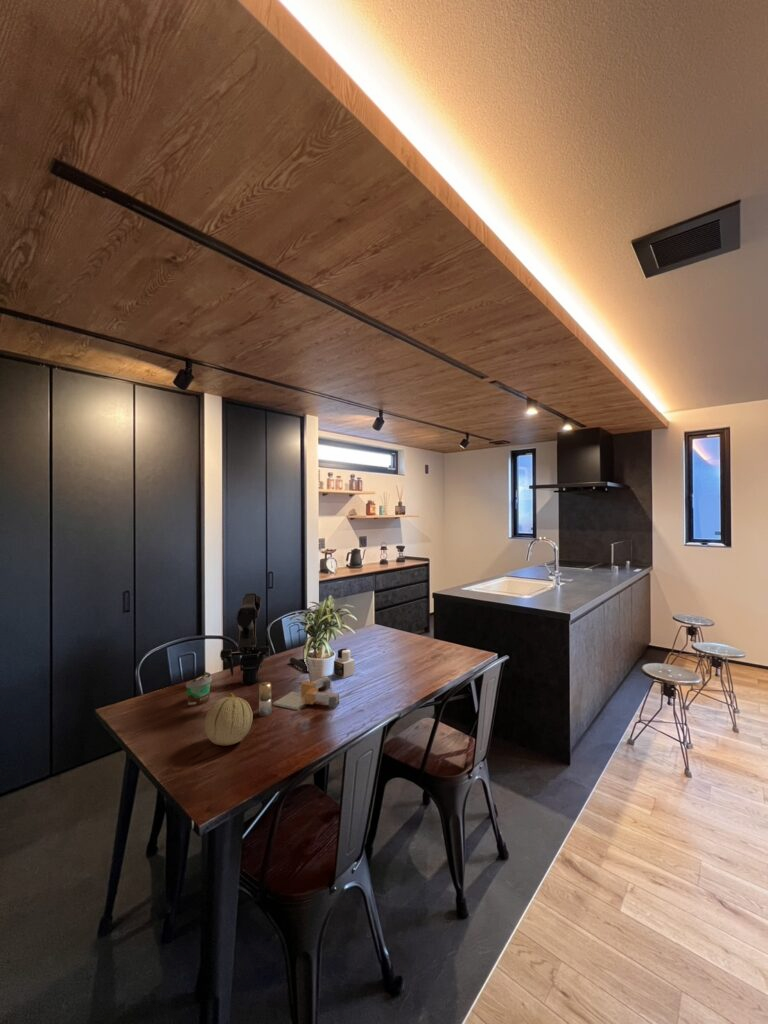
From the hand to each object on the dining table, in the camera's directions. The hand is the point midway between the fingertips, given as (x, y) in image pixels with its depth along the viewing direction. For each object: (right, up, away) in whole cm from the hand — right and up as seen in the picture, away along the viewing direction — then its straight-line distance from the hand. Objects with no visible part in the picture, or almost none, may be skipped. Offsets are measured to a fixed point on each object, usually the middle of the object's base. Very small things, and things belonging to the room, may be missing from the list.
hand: (244, 675), depth 160 cm
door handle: (+17, -15, +49) cm, 54 cm away
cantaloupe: (+4, -12, -26) cm, 29 cm away
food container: (-19, -14, +6) cm, 25 cm away
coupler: (+10, -13, -5) cm, 17 cm away
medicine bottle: (+36, -14, +35) cm, 52 cm away
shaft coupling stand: (+27, -13, +8) cm, 31 cm away
